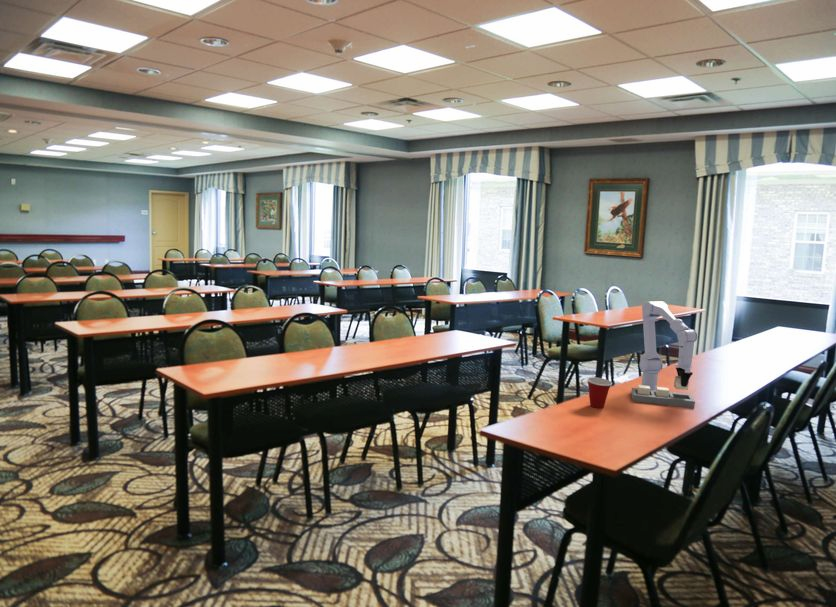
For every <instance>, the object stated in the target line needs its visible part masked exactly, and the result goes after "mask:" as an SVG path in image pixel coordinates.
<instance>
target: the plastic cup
mask: <svg viewBox="0 0 836 607" xmlns="http://www.w3.org/2000/svg"><path fill="white" fill-rule="evenodd" d="M586 381H587V384H588V385H587V386H588V397H589V404H590V407H592V408H595V409H604V407H605V405H606V404H605V403H606V401H607V397H608V394H609V390H610V388H611V386H612V385H613V382H612V381H611V380H609V379H606V378H602V377H594V376H591V377H587V378H586Z"/></svg>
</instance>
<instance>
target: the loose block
mask: <svg viewBox="0 0 836 607" xmlns="http://www.w3.org/2000/svg"><path fill="white" fill-rule="evenodd" d="M689 382H690V380H689V381H688V384H687V386H686V387H684V386H681V377H680V376H678V375H674V381H673V388H674V389H676V390H684V391H688V390H689Z"/></svg>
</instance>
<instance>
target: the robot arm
mask: <svg viewBox="0 0 836 607" xmlns="http://www.w3.org/2000/svg"><path fill="white" fill-rule="evenodd" d="M641 310H642V311H641V312H642V325H643V326H642V327H643V340H644V342H643V344H644V353H643V354H641V356H640V358H639V359H640V360H639V369H640V371H641V372H642V374H641V375H642V376H641V384H640V385H645V386H650V390H656V387H658V380H659V373H660V372H661V370H662V369H663V367H664V366H663V365H664V363H663V360H662V356H661V355H660V354H659V353H658V352H657V339H656V338H657V337H656V322H655V321H656V320H657V319H658V318H660V317H662V318H663V319H664V320H666V321H667V322H668V323H669V328H670V329H671V330H672V331H673V332H674V333H675V334H676V335H677V336H676V337H677V340H678V346H679V348H678V358H677V363H674V366H675V370H676V373H677V374H676V375H677V376H680V377H681V386H684V387H686V386H687V384H688V385H689V383H688V381H689V382H690V378H691V377H692V376H693V372H692V371H691V369H692V367H693V365H692V364H693V362H692V361H693V353H694V346H695V345H694V343H695V342H696V341H697V340H698V333H697V331H696V330H695V329H692V328H689V327H688V326H687V325H686V324H685V323H684V320H682V319H680V318H676V317H675V315H673V313H672V311H670V309H669V306H668V304H667V303H666V302H665V301H664V300H663V301H662V300H661V301H649V300H648V301H645V302H644V303H643V305H642V306H641Z"/></svg>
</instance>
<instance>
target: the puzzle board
mask: <svg viewBox="0 0 836 607" xmlns="http://www.w3.org/2000/svg"><path fill="white" fill-rule="evenodd" d="M630 394H631V398H632V402H635V403H645V404H654V405H663V406H672V407H680V408H681V407H682V408H689V409H690V408H691V409H695V405H696V400H694V398H693V395H692V394H691V393H683V392H675V391H670V389H669V387H663V386H657V387H656V390H650V386H645V385H641V384H637V388H636V387H631V393H630Z"/></svg>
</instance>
